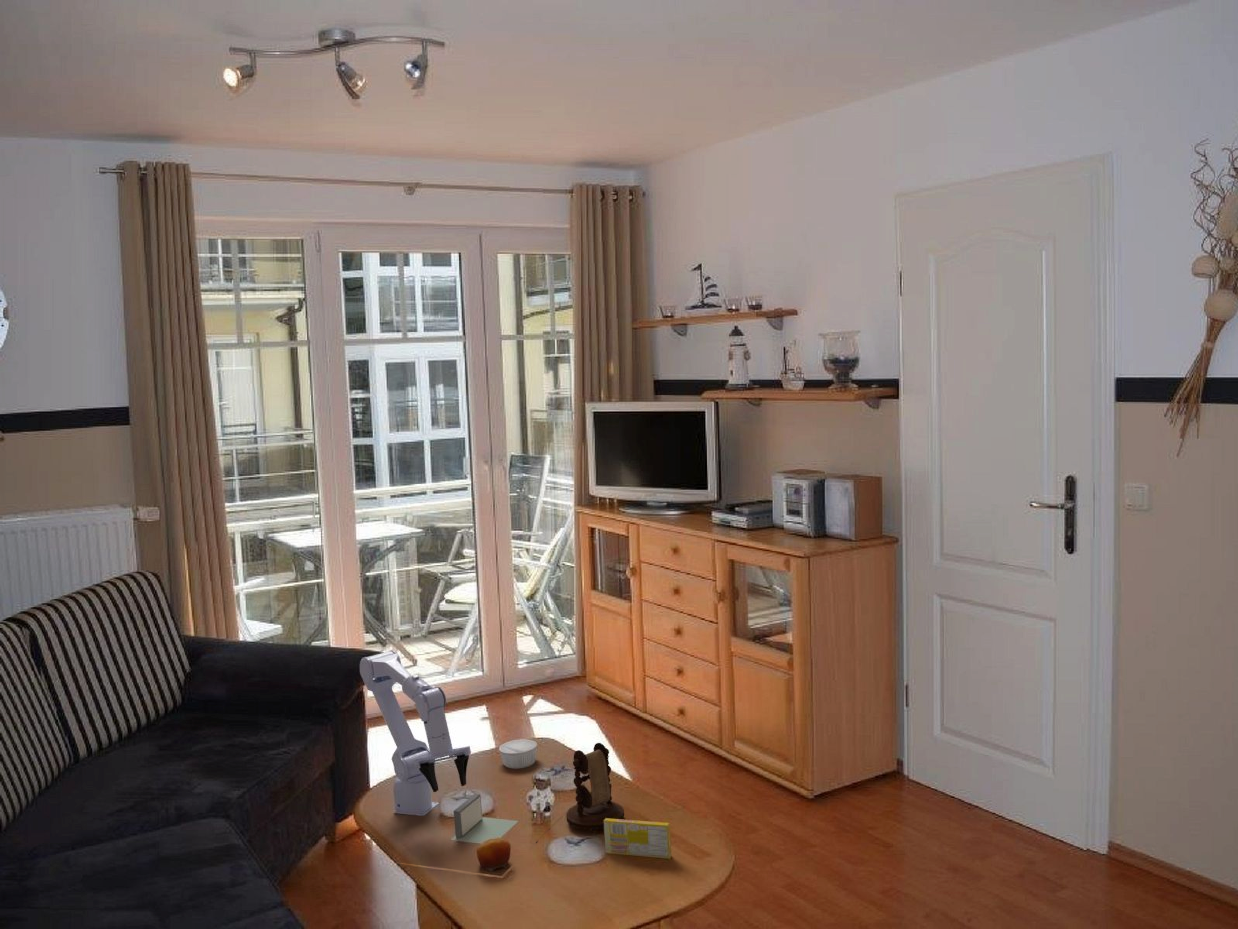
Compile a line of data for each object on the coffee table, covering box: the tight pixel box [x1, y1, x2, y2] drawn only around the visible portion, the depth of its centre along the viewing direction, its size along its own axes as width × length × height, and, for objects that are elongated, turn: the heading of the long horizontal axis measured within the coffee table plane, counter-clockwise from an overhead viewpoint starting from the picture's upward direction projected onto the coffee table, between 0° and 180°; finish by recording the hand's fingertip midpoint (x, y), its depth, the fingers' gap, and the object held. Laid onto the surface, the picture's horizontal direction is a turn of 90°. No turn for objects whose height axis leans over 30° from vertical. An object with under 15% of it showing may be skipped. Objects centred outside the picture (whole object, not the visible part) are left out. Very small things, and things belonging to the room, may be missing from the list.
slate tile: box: [453, 793, 483, 838], centre depth 289 cm, size 2×11×7 cm, turn 158°
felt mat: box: [450, 816, 519, 845], centre depth 288 cm, size 12×14×1 cm
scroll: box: [565, 742, 625, 835], centre depth 288 cm, size 15×15×20 cm
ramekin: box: [498, 738, 538, 770], centre depth 333 cm, size 11×11×5 cm
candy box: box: [603, 818, 673, 860], centre depth 270 cm, size 16×2×8 cm, turn 71°
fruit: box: [476, 837, 511, 873], centre depth 268 cm, size 8×8×8 cm
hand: (450, 788), depth 291 cm, fingers open, 7 cm apart
